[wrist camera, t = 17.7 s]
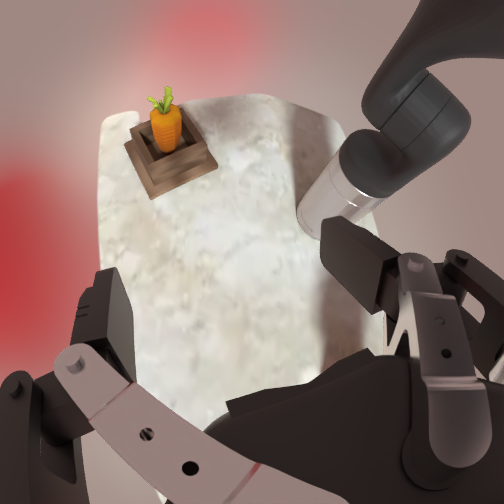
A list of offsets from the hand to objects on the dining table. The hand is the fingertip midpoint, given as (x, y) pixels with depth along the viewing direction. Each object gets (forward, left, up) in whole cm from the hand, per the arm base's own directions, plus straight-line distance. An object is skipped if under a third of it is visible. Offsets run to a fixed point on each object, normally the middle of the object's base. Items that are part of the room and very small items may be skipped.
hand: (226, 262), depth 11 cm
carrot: (-8, -27, -33) cm, 44 cm away
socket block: (-8, -28, -34) cm, 44 cm away
